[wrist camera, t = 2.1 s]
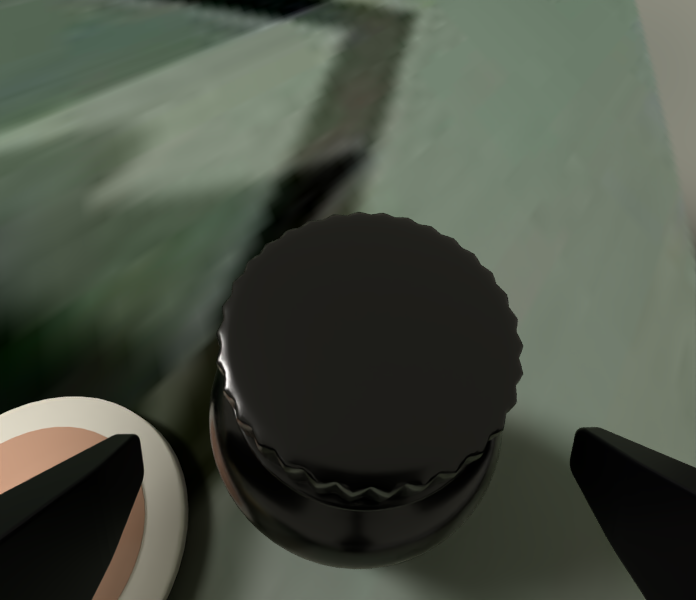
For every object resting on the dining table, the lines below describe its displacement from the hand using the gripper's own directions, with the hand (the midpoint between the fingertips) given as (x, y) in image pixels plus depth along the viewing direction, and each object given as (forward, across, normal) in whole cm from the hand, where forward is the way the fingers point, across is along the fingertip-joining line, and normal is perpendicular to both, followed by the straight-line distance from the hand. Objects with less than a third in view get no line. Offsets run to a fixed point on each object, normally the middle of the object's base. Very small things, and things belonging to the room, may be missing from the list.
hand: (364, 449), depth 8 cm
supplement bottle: (+7, 0, +6) cm, 9 cm away
